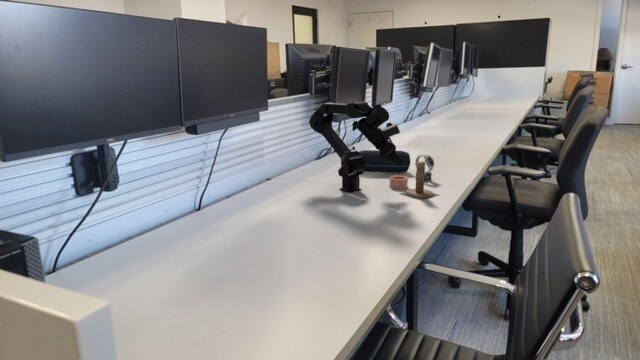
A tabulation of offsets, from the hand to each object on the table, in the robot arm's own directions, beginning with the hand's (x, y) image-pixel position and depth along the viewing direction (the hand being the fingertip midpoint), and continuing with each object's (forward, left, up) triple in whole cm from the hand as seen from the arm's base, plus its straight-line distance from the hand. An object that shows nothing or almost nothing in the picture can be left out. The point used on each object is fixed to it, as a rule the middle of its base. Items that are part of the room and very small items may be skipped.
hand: (400, 161), depth 169 cm
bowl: (+8, +7, -13) cm, 17 cm away
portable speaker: (+22, +30, -14) cm, 39 cm away
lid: (+6, -5, -13) cm, 15 cm away
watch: (+25, +8, -14) cm, 30 cm away
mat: (+6, -5, -13) cm, 16 cm away
